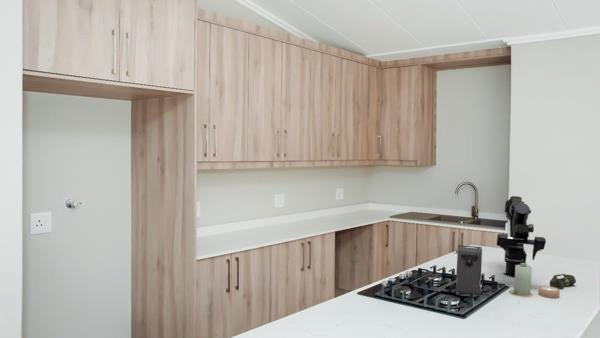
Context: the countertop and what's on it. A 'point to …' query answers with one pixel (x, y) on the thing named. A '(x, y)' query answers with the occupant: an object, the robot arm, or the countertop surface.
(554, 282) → the green toy tank
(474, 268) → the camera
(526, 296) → the cork mat
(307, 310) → the countertop surface
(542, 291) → the ramekin
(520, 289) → the cloche
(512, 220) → the robot arm
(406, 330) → the countertop surface
